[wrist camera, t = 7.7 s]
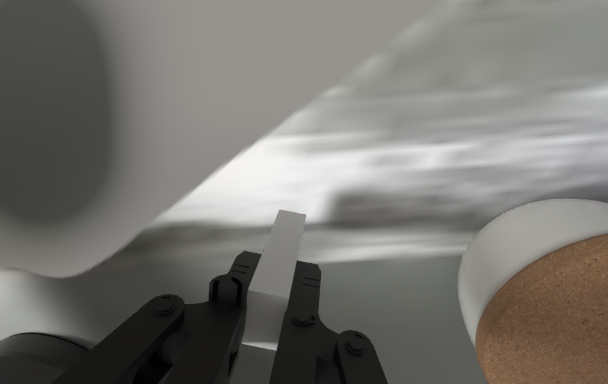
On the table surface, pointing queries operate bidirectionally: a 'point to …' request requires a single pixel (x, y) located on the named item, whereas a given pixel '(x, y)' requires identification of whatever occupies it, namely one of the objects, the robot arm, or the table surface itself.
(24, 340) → the robot arm
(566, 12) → the table surface
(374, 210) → the table surface
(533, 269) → the lidded jar
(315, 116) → the table surface
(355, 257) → the table surface
